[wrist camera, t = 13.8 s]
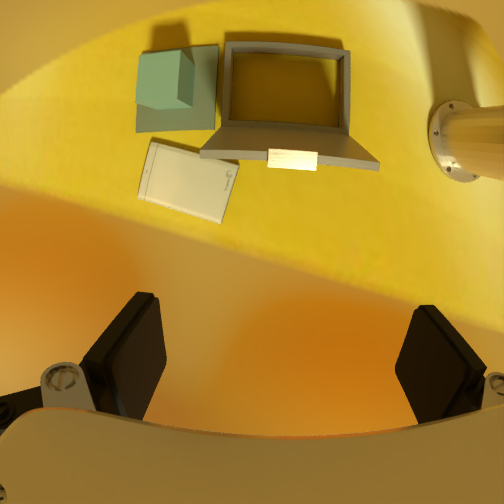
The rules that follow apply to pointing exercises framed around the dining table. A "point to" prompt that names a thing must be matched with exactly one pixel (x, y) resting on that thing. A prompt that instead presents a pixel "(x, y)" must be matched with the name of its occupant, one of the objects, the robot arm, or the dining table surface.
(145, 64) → the block
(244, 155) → the lid
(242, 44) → the case
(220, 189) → the hard drive
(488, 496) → the robot arm
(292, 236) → the dining table surface
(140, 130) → the mat
